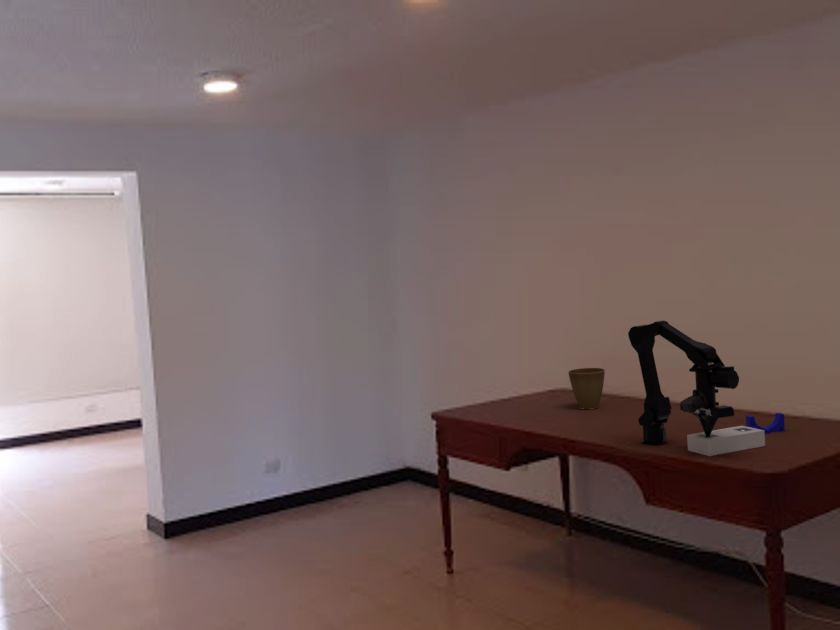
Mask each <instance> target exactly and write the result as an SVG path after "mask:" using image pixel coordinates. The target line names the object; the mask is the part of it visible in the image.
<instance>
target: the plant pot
mask: <svg viewBox="0 0 840 630" xmlns="http://www.w3.org/2000/svg"><path fill="white" fill-rule="evenodd" d="M605 371H606V369H604V368H601V367H584V368H575V369H571V370H568V371H567V373H568V378H569V382H570V385H571V389H572V392H573V395H574V397H575V400H576V402H577V405H578V407H579V409H580V408H584V409H590V408H597V407H598V408H599V406H600V403H601V398H602V395H603V389H604V382H605V381H604V380H605ZM598 408H597V409H598Z"/></svg>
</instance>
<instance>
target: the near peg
mask: <svg viewBox="0 0 840 630" xmlns="http://www.w3.org/2000/svg"><path fill="white" fill-rule="evenodd" d="M701 437H705V438H710V437H715V435H712V434H710V436H706V435H705V434H704V435H701Z"/></svg>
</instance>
